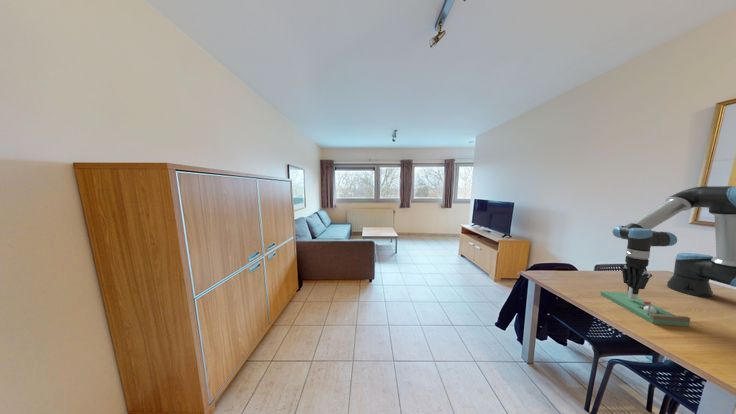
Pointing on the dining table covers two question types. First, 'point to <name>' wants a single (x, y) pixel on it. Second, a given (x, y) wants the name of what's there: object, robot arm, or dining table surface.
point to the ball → (652, 310)
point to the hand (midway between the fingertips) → (631, 298)
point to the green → (637, 308)
